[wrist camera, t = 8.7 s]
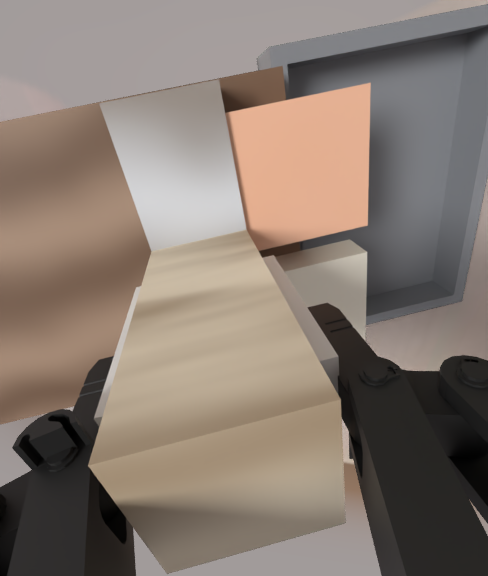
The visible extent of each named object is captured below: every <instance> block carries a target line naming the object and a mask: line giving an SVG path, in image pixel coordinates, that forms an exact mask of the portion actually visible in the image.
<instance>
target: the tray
mask: <svg viewBox="0 0 488 576" xmlns="http://www.w3.org/2000/svg"><path fill="white" fill-rule="evenodd" d="M257 64H258V71H259V70H264V69H269V68H274V67H279V66H283V74H284V85H285V95H286V100H290V99H294V98H299V97H304V96H309V95H314V94H319V93H323V92H328V91H333V90H338V89H343V88H347V87H352V86H357V85H362V84H367V83H371V90H370V139H369V188H368V226H363V227H359V228H355V229H351V230H346V231H342V232H338V233H333V234H329V235H325V236H321V237H316V238H312V239H308V240H303V241H299V244H300V251H302V250H306V249H311V248H315V247H319V246H323V245H328V244H332V243H336V242H340V241H345V240H349V239H350V240H351V241H353V242H354V243H356V244H357V245H358V246H360V247H361V248H362V249H364V250H365V251H367V293H366V325H368V324H372V323H376V322H380V321H384V320H388V319H392V318H396V317H400V316H404V315H408V314H412V313H416V312H420V311H424V310H428V309H433V308H437V307H441V306H445V305H449V304H453V303H457V302H461V301H462V299H463V294H464V289H465V284H466V279H467V274H468V269H469V264H470V260H471V255H472V250H473V245H474V240H475V235H476V230H477V225H478V221H479V216H480V211H481V206H482V201H483V196H484V191H485V186H486V181H487V177H488V4H486V5H481V6H476V7H471V8H466V9H461V10H456V11H450V12H445V13H440V14H435V15H430V16H425V17H420V18H415V19H409V20H404V21H399V22H394V23H389V24H384V25H379V26H374V27H368V28H363V29H358V30H353V31H348V32H343V33H338V34H333V35H327V36H323V37H317V38H312V39H307V40H302V41H297V42H292V43H286V44H282V45H276V46H271V47H268V48H267V49H266V50H265V51H264V52H263V53H262V54H261V55H260V56H259V57H258V58H257Z"/></svg>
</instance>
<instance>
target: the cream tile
mask: <svg viewBox="0 0 488 576" xmlns="http://www.w3.org/2000/svg"><path fill="white" fill-rule="evenodd" d="M275 258H276V260H277V261H278V263H279V264H280V266H281V267H282V269H283V270H284V272H285V274H286V275H287V277H288V278H289V280H290V281H291V283H292V285H293V286H294V288H295V289H296V291H297V292H298V294H299V295H300V297H301V299H302V300H303V302H304V303H305V305H306V306H307V307H311V306H315V305H319V304H324V303H329V304H331V305H333V306H335V307H336V308H338V309H340V311H341V312H342V313H343V314H344V316H345V317H346V319H347V320H348V321H349V322H350V323H351V324H352V326H353V328H355V329H356V330H357V332H358V333H359V334H360V335H361V337H362V338H363V339H364V340H365V341H366V293H367V251H365V250H364V249H362V248H361V247H360V246H358V245H357V244H356V243H354V242H353V241H351V240H350V239H349V240H345V241H340V242H336V243H332V244H328V245H323V246H319V247H315V248H311V249H306V250H302V251H298V252H294V253H289V254H285V255H281V256H276V257H275Z"/></svg>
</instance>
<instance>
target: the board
mask: <svg viewBox="0 0 488 576" xmlns="http://www.w3.org/2000/svg"><path fill="white" fill-rule="evenodd" d="M214 80H218V79H214ZM209 81H213V80H209ZM204 82H208V81H204ZM198 83H203V82H198ZM198 83H194V84H198ZM219 83H220V88H221V94H222V99H223V105H224V110H225V113H227V112H232V111H237V110H242V109H246V108H251V107H256V106H261V105H266V104H270V103H275V102H280V101H285V100H286V95H285V85H284V74H283V66H279V67H274V68H269V69H264V70H259V71H254V72H249V73H244V74H239V75H234V76H229V77H224V78H219ZM189 85H193V84H189ZM183 86H188V85H183ZM183 86H179V87H183ZM174 88H178V87H174ZM168 89H173V88H168ZM168 89H164V90H168ZM158 91H163V90H158ZM158 91H153V92H148V93H143V94H138V95H133V96H128V97H123V98H118V99H113V100H108V101H103V102H98V103H93V104H88V105H83V106H78V107H73V108H68V109H63V110H58V111H53V112H48V113H43V114H38V115H33V116H27V117H22V118H17V119H12V120H7V121H2V122H0V424H4V423H8V422H12V421H16V420H20V419H24V418H28V417H32V416H37V415H41V414H45V413H49V412H52V411H56V410H60V409H65V408H69V407H73V406H75V404H76V402H77V399H78V397H80V396H79V394H80V392H81V389H82V387H84V385H83V384H84V382H85V379H86V377H87V374H88V372H89V371H90V370H91V368H92V367H93V366H94V365H95V364H96V362H97V361H98V360H99V359H103V358H107V357H112V356H114V354H115V351H116V348H117V345H118V342H119V339H120V336H121V333H122V330H123V327H124V323H125V320H126V317H127V314H128V311H129V308H130V305H131V302H132V299H133V296H134V292H135V289H136V287H140V286H141V285H142V282H143V278H144V275H145V272H146V268H147V265H148V261H149V258H150V255H151V249H150V246H149V243H148V240H147V237H146V234H145V232H144V229H143V226H142V223H141V220H140V217H139V215H138V212H137V209H136V206H135V203H134V201H133V198H132V195H131V192H130V189H129V186H128V184H127V181H126V178H125V175H124V172H123V169H122V167H121V164H120V161H119V158H118V155H117V153H116V150H115V147H114V144H113V141H112V138H111V136H110V133H109V130H108V127H107V124H106V121H105V119H104V116H103V113H102V110H101V107H100V105H99V103H104V102H109V101H114V100H119V99H124V98H129V97H134V96H139V95H144V94H149V93H154V92H158ZM298 251H300V244H299V242H295V243H291V244H286V245H282V246H278V247H274V248H269V249H265V250H261V251H259V253H260V255H261V257H262V258H263V257H268V256H272V255H274V256H275V257H276V256H281V255H285V254H289V253H294V252H298Z"/></svg>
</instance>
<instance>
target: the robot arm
mask: <svg viewBox="0 0 488 576" xmlns="http://www.w3.org/2000/svg"><path fill="white" fill-rule="evenodd" d="M263 260H264V262H265V264H266V266H267V267H268V269H269V271H270V273H271V275H272V276H273V278H274V280H275V282H276V284H277V285H278V287H279V289H280V291H281V293H282V294H283V296H284V298H285V300H286V302H287V303H288V305H289V307H290V309H291V311H292V312H293V314H294V316H295V318H296V320H297V321H298V323H299V325H300V327H301V329H302V330H303V332H304V334H305V336H306V338H307V340H308V341H309V343H310V345H311V347H312V349H313V350H314V352H315V354H316V356H317V358H318V359H319V361H320V363H321V365H322V367H323V368H324V370H325V372H326V374H327V376H328V377H329V379H330V381H331V383H332V385H333V386H334V388H335V390H336V392H337V394H338V395H339V397H340V399H341V417H342V419H343V421H344V423H345V425H346V427H347V428H348V430H349V456H350V459H353V460H354V464H355V468H356V472H357V476H358V480H359V484H360V489H361V493H362V497H363V500H364V505H365V509H366V513H367V517H368V521H369V526H370V530H371V534H372V538H373V542H374V546H375V550H376V554H377V558H378V562H379V566H380V570H381V575H382V576H488V536H487V534H486V532H485V530H484V528H483V526H482V524H481V522H480V520H479V518H478V517H477V514H476V512H475V510H474V509H473V506H472V505H471V503H470V501H471V502H472V504H473V505H474V506H475V507H476V509H477V510H478V511H479V513H480V514H481V515H482V517H483V518H484V519H485V520H486V522H487V523H488V361H487V360H484V359H481V358H478V357H473V356H465V355H462V356H453V357H450V358H448V359H446V360H444V362H443V363H442V365H441V367H440V371H407V370H402V369H400V367H399V366H398V365H396V364H395V363H393V362H392V361H390V360H388V359H384V358H381V357H378V356H377V355H376V354H375V353H374V351H373V350H372V349H371V348H370V347H369V345H368V344H367V343H366V342H365V340H364V339H363V338H362V337H361V335H360V334H359V333H358V332H357V330H356V329H355V328H353V326H352V324H351V323H350V322H349V321H348V320H347V319H346V317H345V316H344V314H343V313H342V312H341V311H340V309H338V308H336V307H335V306H333V305H331V304H329V303H324V304H319V305H315V306H311V307H307V306H306V305H305V303H304V302H303V300H302V299H301V297H300V295H299V294H298V292H297V291H296V289H295V288H294V286H293V285H292V283H291V281H290V280H289V278H288V277H287V275H286V274H285V272H284V270H283V269H282V267H281V266H280V264H279V263H278V261H277V260H276V258H275V256H274V255H272V256H268V257H263ZM140 288H141V286H140V287H136V289H135V292H134V296H133V299H132V302H131V305H130V308H129V311H128V314H127V317H126V320H125V323H124V327H123V330H122V333H121V336H120V339H119V342H118V345H117V348H116V351H115V354H114V356H112V357H107V358H103V359H99V360H98V361H97V362H96V364H95V365H94V366H93V367H92V368H91V370H90V371H89V372H88V374H87V377H86V379H85V382H84V384H83V385H84V387H82V389H81V392H80V394H79V396H80V397H78V399H77V402H76V404H75V406H74V409H73V411H70V410H65V409H60V410H56V411H52V412H49V413H47V414H45V415H43V416H42V417H40V418H38V419H37V420H35V421H34V422H33V423H31V424H30V425H29V426H28V427H26V429H25V430H24V431H23V432H22V433H21V434H20V435H19V436H18V438H17V440H16V442H15V444H14V446H13V449H14V451H15V452H16V453H17V454H18V455H19V456H20V457H21V458H22V459H23V460H24V462H25V463H26V464H27V465H28V466H29V467H30V468H31V469H32V470H31V471H30V472H28V473H26V474H24V475H22V476H21V477H19V478H17V479H15V480H13V481H11V482H9V483H8V484H5V485H4V486H2V487H0V576H136V570H135V553H134V536H133V527H132V525H131V524H130V522H129V521H128V520H127V518H126V517H125V516H124V514H123V513H122V511H121V510H120V509H119V507H118V506H117V505H116V503H115V502H114V501H113V499H112V498H111V496H110V495H109V494H108V492H107V491H106V490H105V488H104V487H103V485H102V484H101V483H100V481H99V480H98V479H97V477H96V476H95V475H94V473H93V472H92V470H91V469H90V468H89V466H88V464H89V461H90V457H91V454H92V451H93V447H94V444H95V440H96V437H97V434H98V430H99V427H100V424H101V420H102V417H103V413H104V410H105V407H106V403H107V400H108V397H109V393H110V390H111V386H112V383H113V380H114V376H115V373H116V370H117V366H118V363H119V359H120V356H121V353H122V349H123V346H124V343H125V339H126V336H127V332H128V329H129V326H130V322H131V319H132V316H133V312H134V309H135V305H136V302H137V299H138V295H139V292H140ZM468 498H469V499H468ZM469 500H470V501H469Z"/></svg>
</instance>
